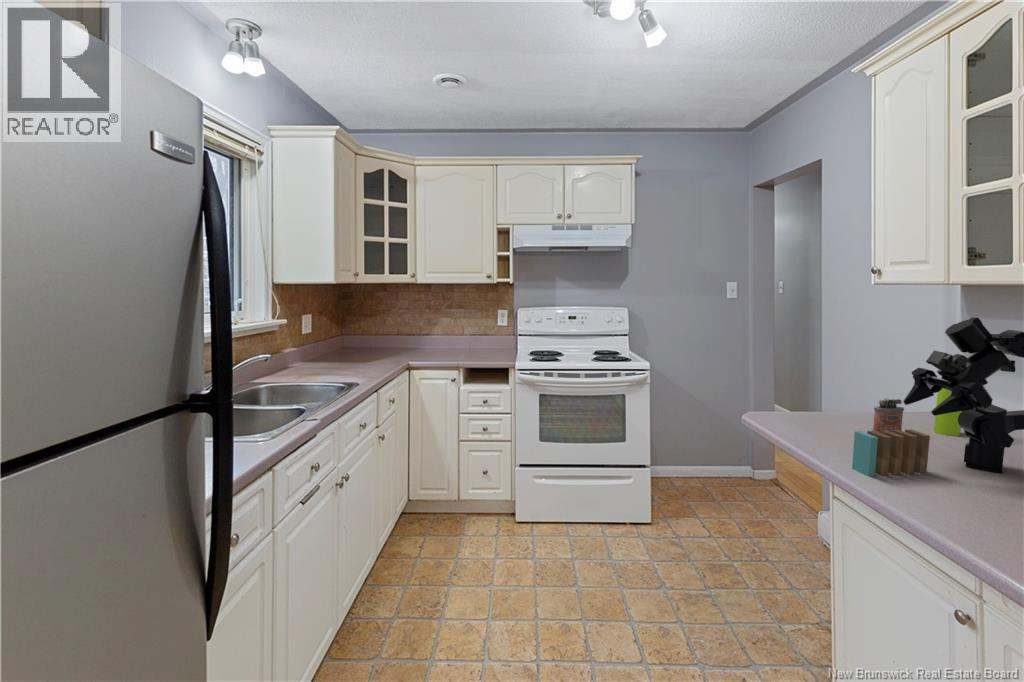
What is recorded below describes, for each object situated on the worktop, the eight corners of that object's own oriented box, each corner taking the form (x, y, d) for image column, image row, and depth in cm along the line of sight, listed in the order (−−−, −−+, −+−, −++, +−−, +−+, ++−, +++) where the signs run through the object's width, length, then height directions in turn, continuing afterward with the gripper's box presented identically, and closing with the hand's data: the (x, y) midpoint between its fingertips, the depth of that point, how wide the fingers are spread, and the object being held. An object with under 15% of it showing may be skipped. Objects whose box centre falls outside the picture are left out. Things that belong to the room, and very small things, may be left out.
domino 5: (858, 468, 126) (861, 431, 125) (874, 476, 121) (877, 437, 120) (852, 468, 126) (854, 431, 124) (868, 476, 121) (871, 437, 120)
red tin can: (877, 434, 153) (880, 400, 151) (869, 431, 156) (872, 397, 155) (905, 434, 153) (908, 400, 152) (896, 431, 156) (899, 397, 155)
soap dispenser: (935, 428, 159) (942, 361, 157) (964, 434, 153) (970, 365, 151) (925, 430, 156) (931, 363, 154) (954, 436, 150) (960, 366, 148)
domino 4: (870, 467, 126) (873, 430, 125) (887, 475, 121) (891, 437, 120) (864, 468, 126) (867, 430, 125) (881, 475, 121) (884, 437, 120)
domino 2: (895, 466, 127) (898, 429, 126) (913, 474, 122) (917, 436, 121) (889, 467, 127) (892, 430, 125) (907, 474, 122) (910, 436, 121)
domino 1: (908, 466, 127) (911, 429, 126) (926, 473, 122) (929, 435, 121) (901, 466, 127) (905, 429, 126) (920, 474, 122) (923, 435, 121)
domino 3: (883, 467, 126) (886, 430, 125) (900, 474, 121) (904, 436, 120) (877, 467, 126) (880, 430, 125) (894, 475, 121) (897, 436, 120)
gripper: (927, 336, 133) (873, 373, 134) (992, 347, 114) (928, 391, 116) (952, 370, 134) (898, 407, 135) (1019, 387, 115) (956, 430, 117)
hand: (918, 408), depth 126 cm, fingers open, 9 cm apart
